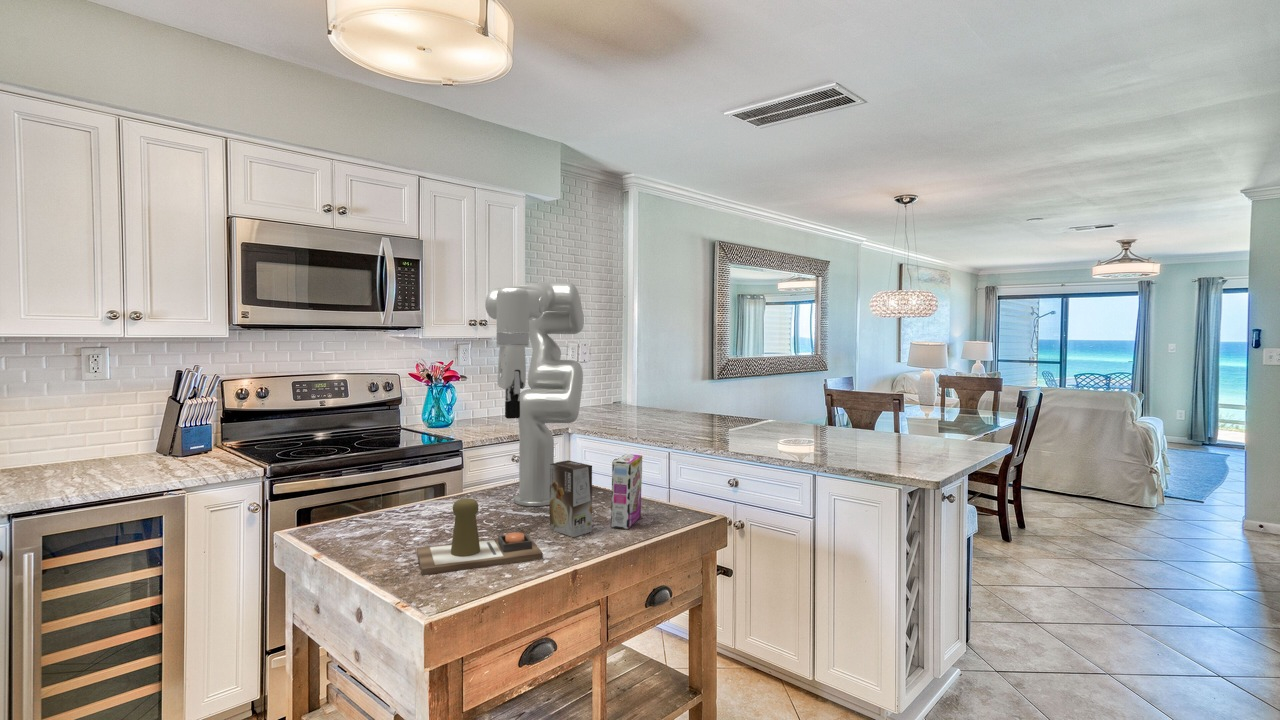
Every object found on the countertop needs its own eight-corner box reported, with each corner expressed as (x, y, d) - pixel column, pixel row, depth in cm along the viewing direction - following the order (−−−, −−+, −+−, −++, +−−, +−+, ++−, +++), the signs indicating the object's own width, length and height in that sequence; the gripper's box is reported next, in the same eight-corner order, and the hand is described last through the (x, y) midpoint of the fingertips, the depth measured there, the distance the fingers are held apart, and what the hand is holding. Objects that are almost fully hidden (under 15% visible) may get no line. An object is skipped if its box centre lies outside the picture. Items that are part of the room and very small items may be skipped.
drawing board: (417, 553, 134) (417, 540, 134) (528, 539, 144) (528, 527, 144) (422, 575, 122) (422, 560, 122) (542, 558, 132) (542, 545, 132)
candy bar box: (629, 530, 152) (630, 462, 151) (610, 528, 153) (610, 461, 152) (642, 517, 162) (643, 454, 162) (623, 515, 164) (624, 453, 163)
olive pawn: (472, 557, 128) (472, 504, 128) (445, 555, 129) (445, 502, 129) (485, 547, 134) (485, 496, 134) (459, 545, 135) (459, 495, 135)
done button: (503, 542, 137) (503, 533, 137) (521, 540, 138) (521, 531, 138) (507, 548, 133) (507, 539, 133) (526, 546, 135) (526, 536, 135)
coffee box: (593, 532, 150) (594, 465, 149) (573, 538, 145) (573, 469, 145) (568, 523, 156) (568, 459, 156) (547, 529, 152) (548, 463, 151)
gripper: (490, 340, 154) (490, 414, 154) (503, 341, 140) (502, 423, 141) (521, 340, 157) (521, 413, 157) (536, 341, 143) (535, 421, 144)
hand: (512, 417), depth 149 cm, fingers closed
